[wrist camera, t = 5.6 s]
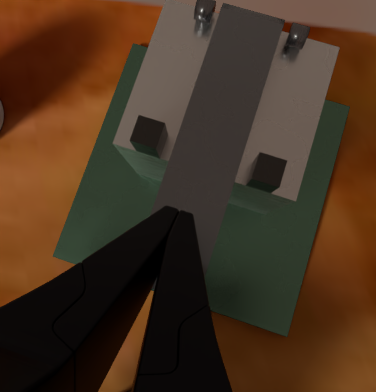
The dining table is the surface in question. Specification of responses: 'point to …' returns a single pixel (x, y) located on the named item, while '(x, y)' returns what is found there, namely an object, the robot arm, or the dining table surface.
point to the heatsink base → (242, 235)
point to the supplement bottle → (1, 115)
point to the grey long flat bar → (219, 121)
